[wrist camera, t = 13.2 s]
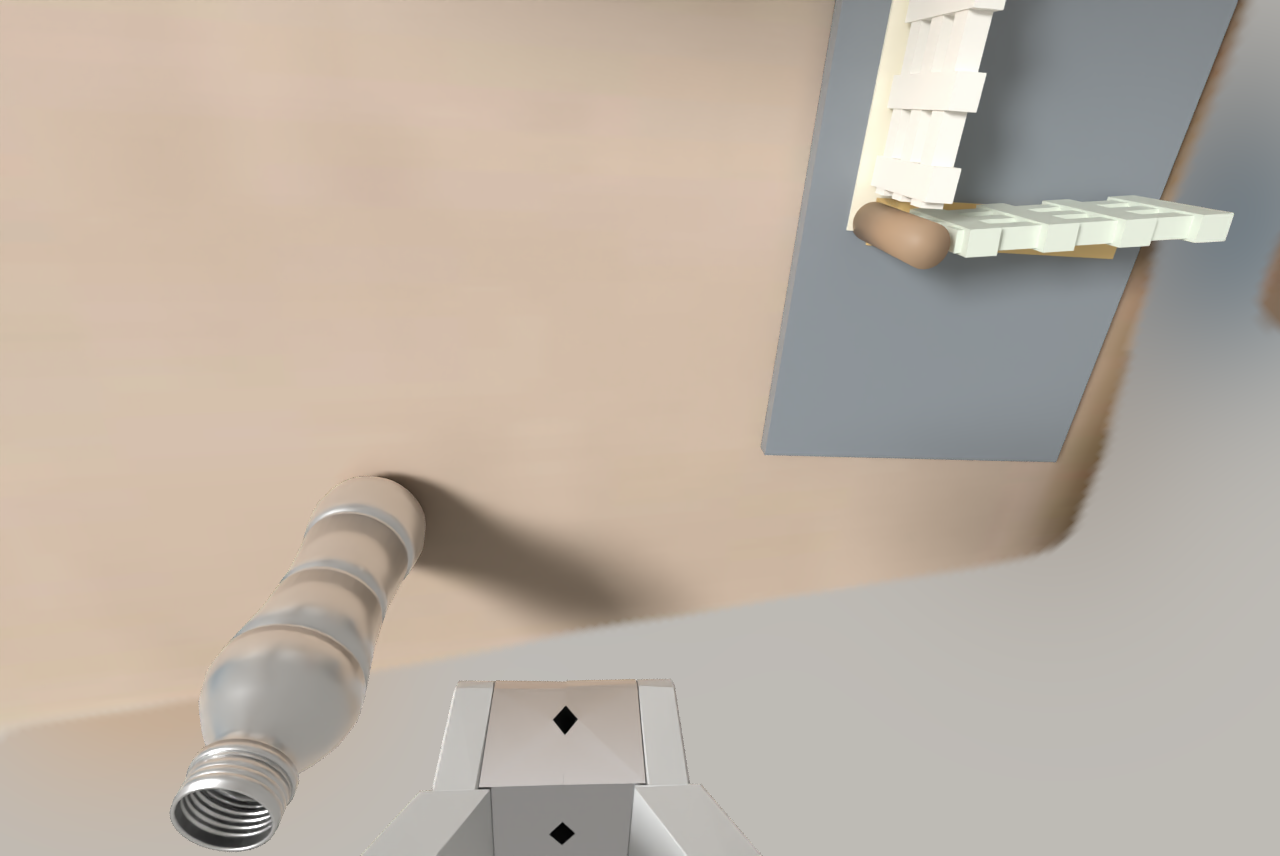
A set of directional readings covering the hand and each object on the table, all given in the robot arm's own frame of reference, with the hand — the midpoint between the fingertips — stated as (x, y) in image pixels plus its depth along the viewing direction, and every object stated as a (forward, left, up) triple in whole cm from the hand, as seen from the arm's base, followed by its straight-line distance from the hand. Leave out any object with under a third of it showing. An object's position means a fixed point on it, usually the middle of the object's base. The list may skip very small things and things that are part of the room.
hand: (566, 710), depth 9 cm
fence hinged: (-4, +23, -28) cm, 36 cm away
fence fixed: (-9, +15, -28) cm, 33 cm away
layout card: (-3, +21, -29) cm, 36 cm away
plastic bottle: (+16, -12, -29) cm, 35 cm away
